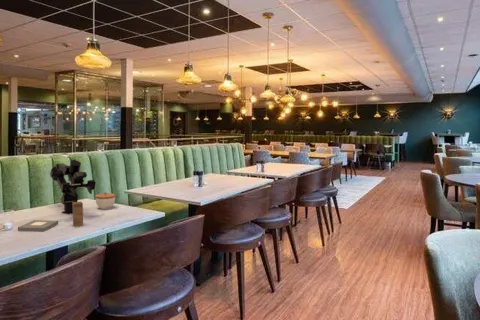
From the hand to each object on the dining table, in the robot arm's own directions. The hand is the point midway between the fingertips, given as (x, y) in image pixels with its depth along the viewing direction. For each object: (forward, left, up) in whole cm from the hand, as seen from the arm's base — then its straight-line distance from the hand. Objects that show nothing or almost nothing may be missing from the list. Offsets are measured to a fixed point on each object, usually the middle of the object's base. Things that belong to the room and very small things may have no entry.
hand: (83, 194), depth 205 cm
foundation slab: (-9, -22, -16) cm, 28 cm away
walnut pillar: (+5, -8, -16) cm, 18 cm away
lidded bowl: (-14, +28, -16) cm, 35 cm away
